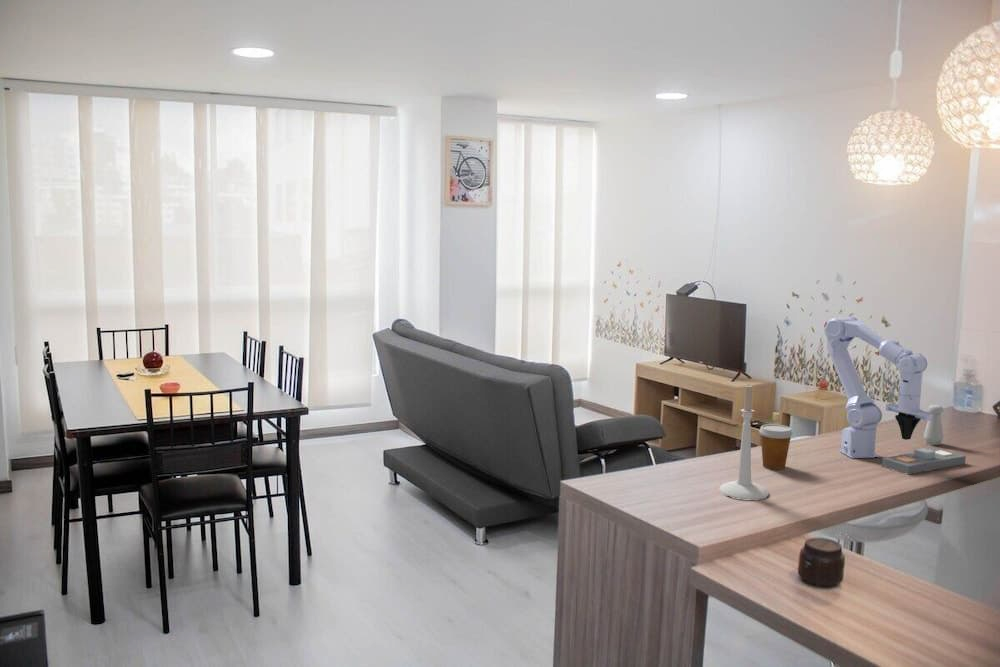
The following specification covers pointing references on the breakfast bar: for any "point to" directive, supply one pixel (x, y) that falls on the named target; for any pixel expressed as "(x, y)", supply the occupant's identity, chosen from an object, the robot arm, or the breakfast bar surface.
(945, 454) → the cream key
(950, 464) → the key panel
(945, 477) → the breakfast bar surface
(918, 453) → the slate key
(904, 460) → the terracotta key
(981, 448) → the breakfast bar surface
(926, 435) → the salt shaker
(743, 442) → the candlestick
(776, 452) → the disposable coffee cup
